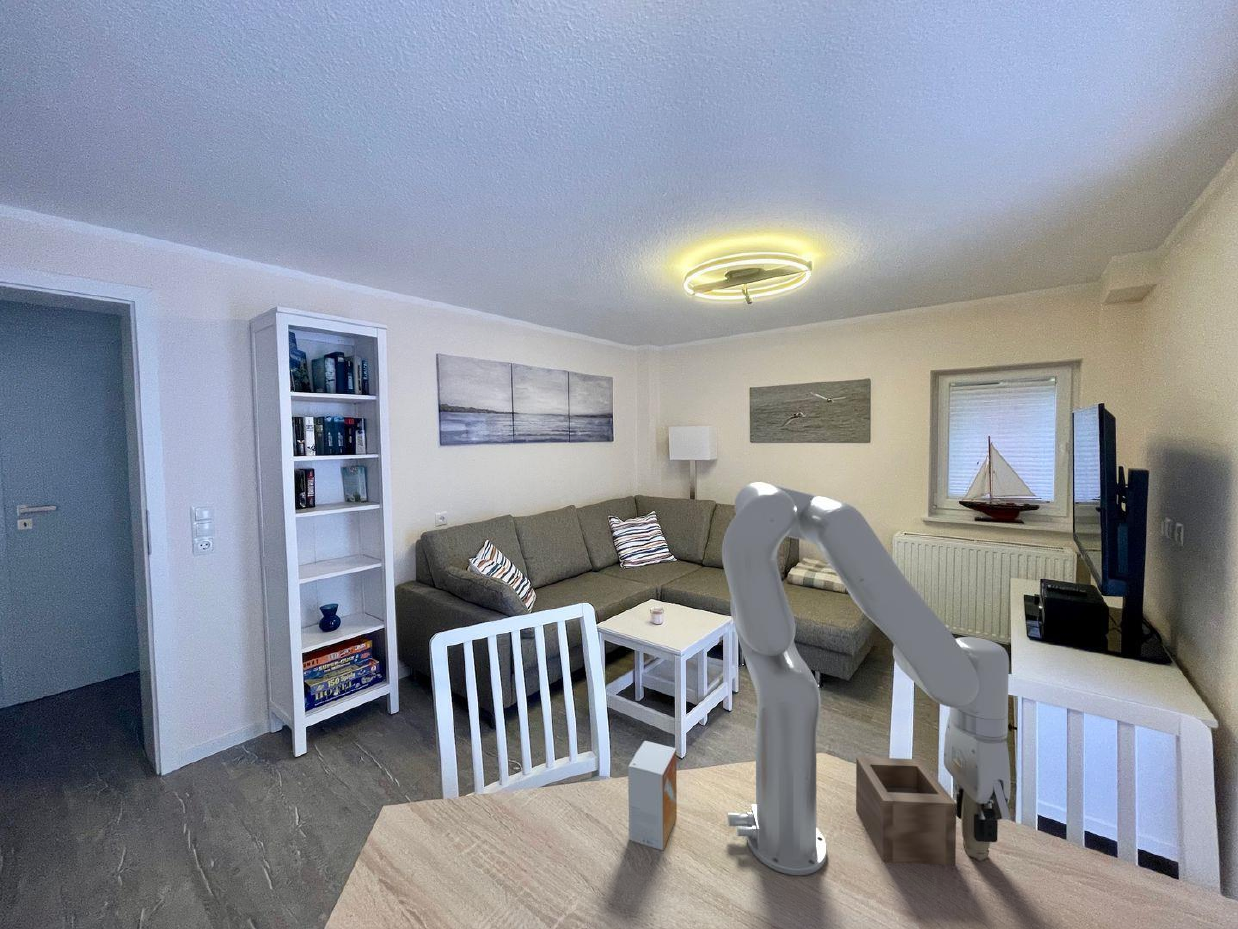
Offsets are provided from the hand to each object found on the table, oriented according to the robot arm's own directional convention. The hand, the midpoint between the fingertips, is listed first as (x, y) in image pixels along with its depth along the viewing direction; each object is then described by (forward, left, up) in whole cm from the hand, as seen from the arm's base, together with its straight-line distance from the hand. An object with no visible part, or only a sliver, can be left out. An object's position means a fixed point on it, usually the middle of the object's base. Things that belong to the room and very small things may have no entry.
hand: (976, 828), depth 81 cm
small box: (-52, +2, -5) cm, 52 cm away
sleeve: (-10, +3, -4) cm, 11 cm away
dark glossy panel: (-10, +3, +1) cm, 10 cm away
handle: (0, 0, -4) cm, 4 cm away
